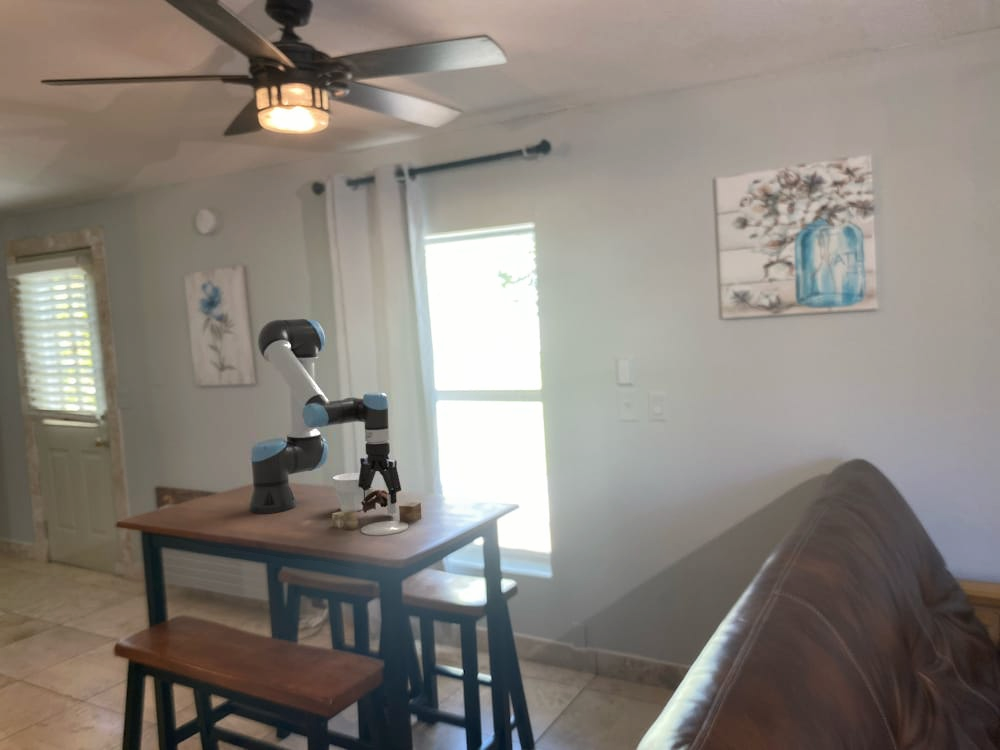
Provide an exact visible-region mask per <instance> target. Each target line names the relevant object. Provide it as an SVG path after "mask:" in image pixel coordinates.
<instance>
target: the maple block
mask: <svg viewBox="0 0 1000 750" xmlns="http://www.w3.org/2000/svg"><path fill="white" fill-rule="evenodd" d="M346 511H351V510H345V511H342V510H340V511H338V512H334V513H332V527H336V528H337V529H338V528H339V529H342V528H345V523H344V512H346Z"/></svg>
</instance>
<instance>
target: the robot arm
mask: <svg viewBox="0 0 1000 750" xmlns="http://www.w3.org/2000/svg"><path fill="white" fill-rule="evenodd" d="M325 336H326V335H325V332H324V329H323V327H322V326H321V325H320V323H319V322H318V321H316V320H315V319H309V318H298V319H297V318H295V319H275V320H272V321H271V320H270V321H268V322H267V323H266V324H265V325H264V326H263V327H262V328H261V330H260V332H259V334H258V338H257V346H258V349H259V353H260V354H261V356H262V357H263V359H264V360H265V362H267V363H269V364H272V366H273V367H274V369H275V370H276V371H277V372H278V374H279V375H280V376H281V378H282V379H283V381H284V382H285V384H286V385H287V387H288V388H289V401H290V403H289V405H290V427H291V428H290V430H289V432H288V433H287V434H286V438H282V437H278V438H277V437H276V438H272V439H271V438H270V439H266V440H262V441H259V442H257V443H255V444H254V445H253V446H252V447H251V454H250V455H251V456H250V460H251V469H252V472H251V473H252V481H253V482H252V484H253V489H252V494H251V497H250V501H249V505H248V506H249V512H250V513H254V514H275V513H281V512H284V511H288V510H292V509H293V508H295V507H296V499H295V496H294V493H293V491H292V489H291V487H290V484H289V483H290V482H289V481H290V480H289V475H293V474H297V473H304V472H312V471H314V470H317V469H320V468H322V467H323V466H324V465H325V463H326V462H327V460H328V455H329V447H328V444H327V441H326V439H325V437H323V436H321V435H322V434H321V432H320V431H319V430H318V429H317V428H323V427H329V426H335V425H341V424H348V423H355V422H359V423H360V422H362V423H364V440H365V442H366V443H365V454H366V455H367V456H364V457H361V458H359V459H360V460H359V461H360V468H359V473H360V476H359V483H358V486H359V487H361V488H362V489H363V490H364V498H365V497H366V496H367V495H368V494H370V493H371V492H373V487H372V485H373V481H374V479H375V475H376V473H377V472H378V473H379V474H380V475H381V476H382V478H383V481H384V483H385V485H386V488H387V501H388V505H387V514H388V515H394V514H395V513H396V511H397V510H396V509H397V507H396V506H397V505H396V504H397V502H398V501H397V500H398V499H397V493H399V492H401V491H402V485H401V482H400V476H399V473H398V468H397V464H398V462H397V460H396V459H394V460H391V459H390V457H389V454H390V452H391V450H390V446H391V445H390V442H389V440H390V431H389V429H390V427H389V405H388V397H387V394H386V393H384V392H370V393H365V394H363V398H359V397H358V398H357V397H345V398H342V399H339V400H338V399H337V400H329V399H328V398H327V397H326V395H325V394H324V393H323V391H322V390H321V389H320V387H319V386H318V385H317V383H316V382H315V381H316V380H315V379H316V378H315V361H317V360H318V358H319V352H321V351H323V349H324V347H325V344H326V337H325ZM362 482H363V483H362ZM372 499H374V497H373V498H371V499H370V500H369V501H371V500H372ZM369 501H368V502H369ZM371 510H372V509H370V510H367V511H371ZM367 511H366V512H367Z"/></svg>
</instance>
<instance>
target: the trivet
mask: <svg viewBox="0 0 1000 750" xmlns="http://www.w3.org/2000/svg"><path fill="white" fill-rule="evenodd" d="M408 529H409V524H408V522H400V521H397V520H393V521H392V520H391V521H387V520H386V521H379V522H373V523H369V524H367V525H366V524H365V525H364V526H363V527H361V529H360V532H361V533H362V534H363V533H364V535H368V536H379V537H380V536H391V535H395V534H396V535H397V534H400V533H402V532H405V531H407V530H408Z"/></svg>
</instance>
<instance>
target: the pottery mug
mask: <svg viewBox="0 0 1000 750" xmlns="http://www.w3.org/2000/svg"><path fill="white" fill-rule="evenodd" d="M387 494H388V491H386V490H383V489H382V490H381V489H377V490H372V492H371V493H370V494H368V495H367V496H366V497H365V498H364V499H363V500H364V501H365V502H364V501H362V502H361V504H362V505H363V510H362V511H363V513H364V514H366V513H367V510H368V511H371V510H373V509H374V510H377V507H376V505H377V504H379V505H380V507H381V508H387V507H388V501H387ZM371 498H373V499H372V500H371V501H369V500H370V499H371ZM368 501H369V502H368ZM370 509H371V510H370Z"/></svg>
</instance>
